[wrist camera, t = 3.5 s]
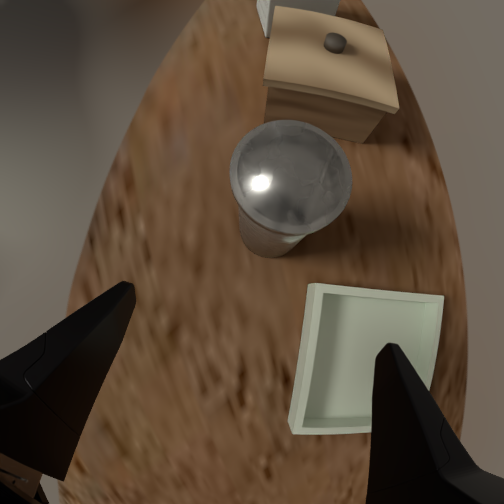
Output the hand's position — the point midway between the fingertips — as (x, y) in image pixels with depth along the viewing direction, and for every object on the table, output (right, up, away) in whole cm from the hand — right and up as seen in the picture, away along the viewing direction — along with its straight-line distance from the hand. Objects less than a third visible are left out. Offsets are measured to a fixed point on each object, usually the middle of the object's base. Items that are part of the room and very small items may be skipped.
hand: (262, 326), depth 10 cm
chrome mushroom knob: (+1, +4, +13) cm, 14 cm away
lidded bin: (+6, +17, +15) cm, 24 cm away
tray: (+9, -6, +12) cm, 16 cm away
